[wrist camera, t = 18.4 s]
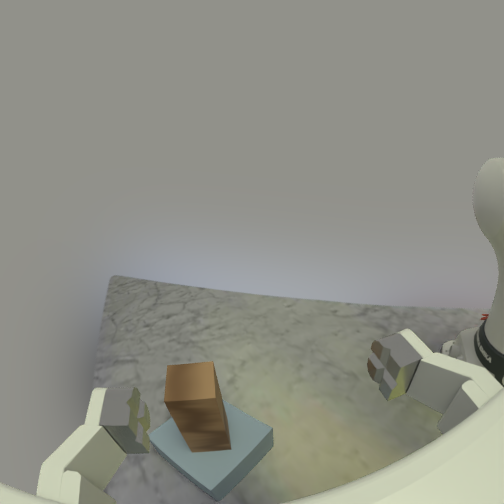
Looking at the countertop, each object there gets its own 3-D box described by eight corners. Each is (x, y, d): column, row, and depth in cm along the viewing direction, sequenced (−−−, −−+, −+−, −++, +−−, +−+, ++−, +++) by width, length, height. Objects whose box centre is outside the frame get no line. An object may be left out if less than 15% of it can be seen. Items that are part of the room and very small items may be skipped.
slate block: (213, 410, 41) (206, 389, 39) (273, 446, 34) (272, 427, 32) (160, 454, 33) (146, 436, 30) (219, 502, 26) (210, 490, 23)
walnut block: (227, 419, 34) (213, 361, 29) (231, 449, 29) (215, 397, 24) (191, 422, 33) (167, 365, 28) (192, 452, 28) (164, 401, 23)
